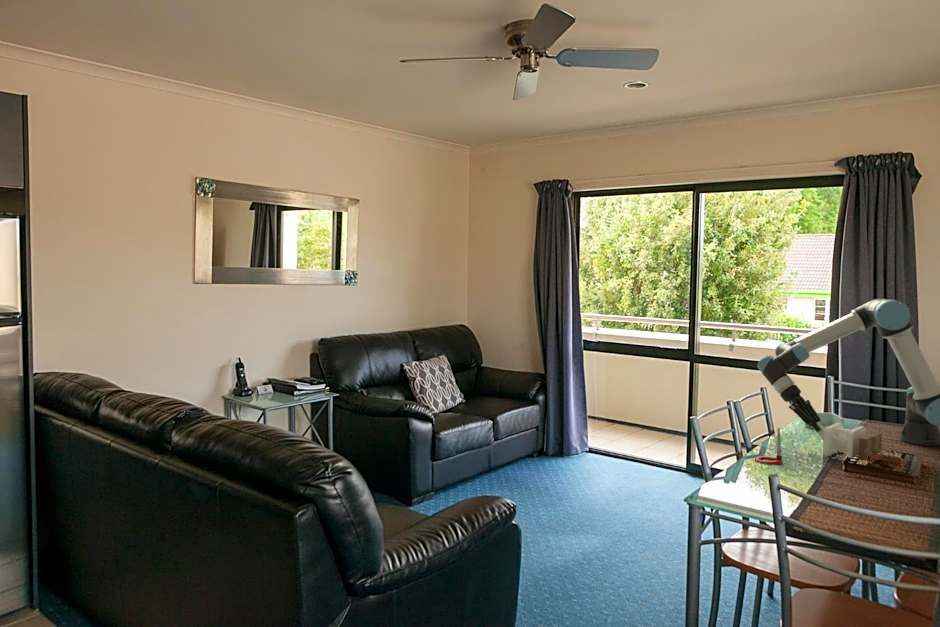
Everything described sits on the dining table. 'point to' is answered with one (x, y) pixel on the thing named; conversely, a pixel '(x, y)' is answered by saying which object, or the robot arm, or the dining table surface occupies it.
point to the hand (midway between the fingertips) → (826, 437)
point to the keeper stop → (869, 445)
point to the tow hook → (778, 457)
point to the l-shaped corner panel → (828, 419)
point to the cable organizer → (842, 440)
